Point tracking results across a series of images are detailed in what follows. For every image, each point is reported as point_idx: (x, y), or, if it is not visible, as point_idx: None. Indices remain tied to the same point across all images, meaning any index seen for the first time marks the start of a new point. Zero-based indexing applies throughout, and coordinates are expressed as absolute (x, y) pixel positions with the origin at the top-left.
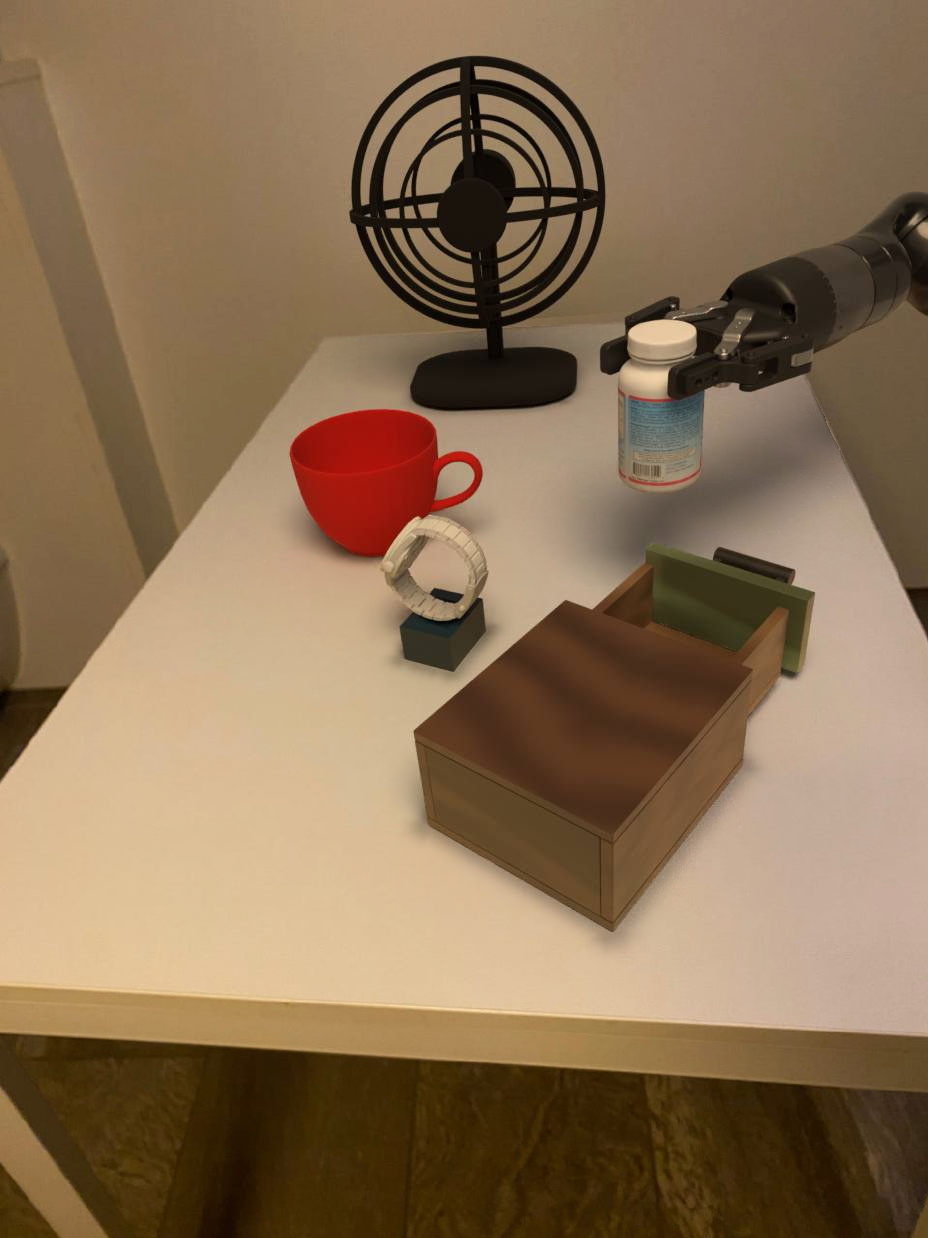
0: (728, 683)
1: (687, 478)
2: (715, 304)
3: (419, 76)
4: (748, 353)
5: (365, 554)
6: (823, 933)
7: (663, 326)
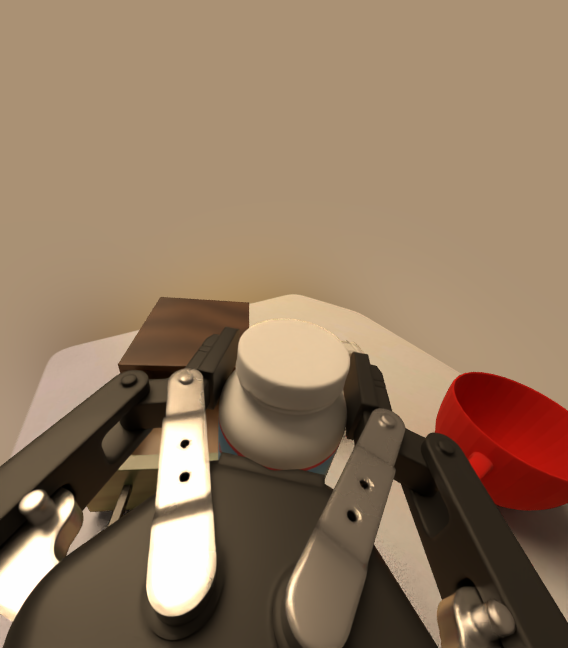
0: (131, 352)
1: None
2: (323, 575)
3: None
4: (133, 375)
5: None
6: (86, 363)
7: (308, 361)
